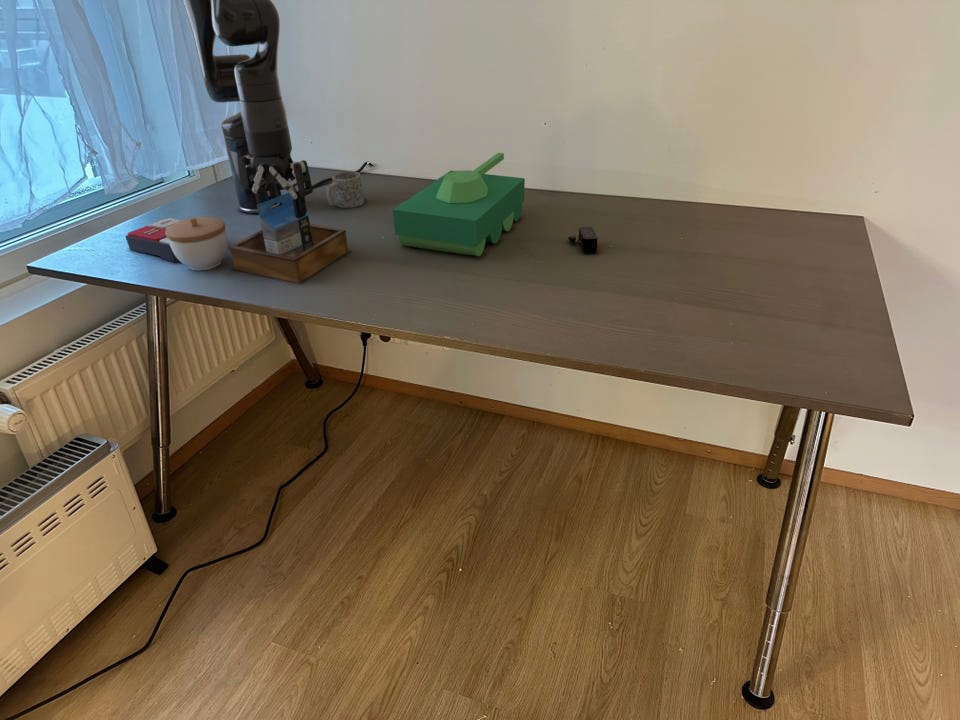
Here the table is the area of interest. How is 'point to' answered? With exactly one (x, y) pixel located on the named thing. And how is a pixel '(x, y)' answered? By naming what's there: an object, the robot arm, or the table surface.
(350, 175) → the mug
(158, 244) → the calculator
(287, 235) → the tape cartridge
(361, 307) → the table surface
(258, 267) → the wooden square tray
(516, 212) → the green tank
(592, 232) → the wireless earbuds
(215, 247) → the trinket box
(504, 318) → the table surface
